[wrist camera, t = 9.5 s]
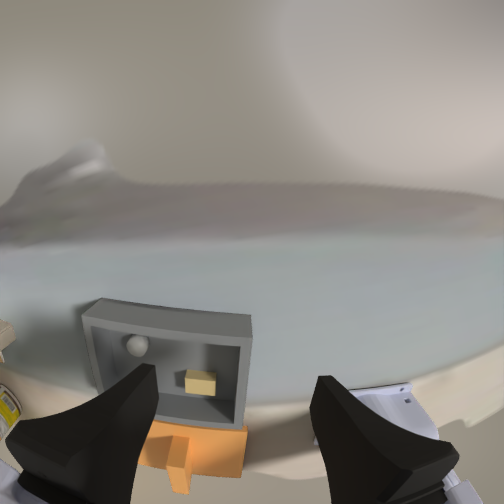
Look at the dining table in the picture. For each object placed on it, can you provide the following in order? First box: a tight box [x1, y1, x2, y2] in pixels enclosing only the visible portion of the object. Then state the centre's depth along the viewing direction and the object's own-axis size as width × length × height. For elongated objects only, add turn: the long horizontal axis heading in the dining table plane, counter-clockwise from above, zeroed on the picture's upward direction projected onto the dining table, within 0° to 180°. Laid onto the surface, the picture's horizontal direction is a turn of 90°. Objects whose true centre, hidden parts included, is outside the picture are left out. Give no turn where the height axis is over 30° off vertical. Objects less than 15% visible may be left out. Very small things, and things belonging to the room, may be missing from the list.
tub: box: [81, 298, 253, 430], centre depth 19 cm, size 12×9×4 cm
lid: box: [138, 419, 248, 494], centre depth 21 cm, size 12×9×6 cm
